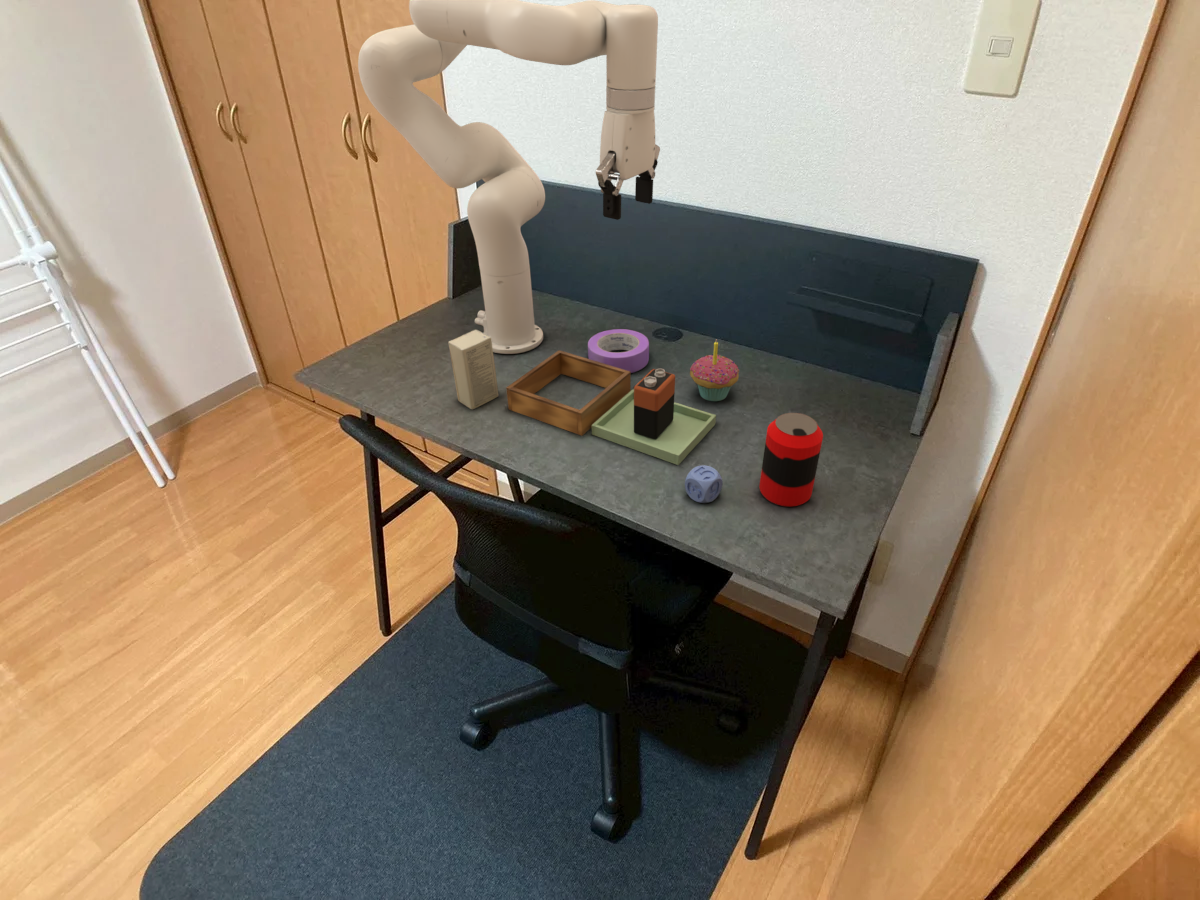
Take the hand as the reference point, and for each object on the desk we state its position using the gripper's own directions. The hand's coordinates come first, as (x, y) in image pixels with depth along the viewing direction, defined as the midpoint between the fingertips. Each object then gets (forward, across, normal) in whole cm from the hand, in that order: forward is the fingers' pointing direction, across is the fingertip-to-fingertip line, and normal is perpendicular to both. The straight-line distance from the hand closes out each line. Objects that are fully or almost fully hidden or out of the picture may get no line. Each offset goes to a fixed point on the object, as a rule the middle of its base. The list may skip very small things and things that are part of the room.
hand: (628, 209), depth 121 cm
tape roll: (+30, 0, -1) cm, 30 cm away
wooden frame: (+29, +17, 0) cm, 34 cm away
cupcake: (+29, +2, +20) cm, 35 cm away
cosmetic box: (+30, +26, -14) cm, 42 cm away
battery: (+29, +17, +17) cm, 37 cm away
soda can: (+29, +20, +41) cm, 54 cm away
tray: (+29, +17, +17) cm, 37 cm away
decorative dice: (+29, +27, +32) cm, 51 cm away
